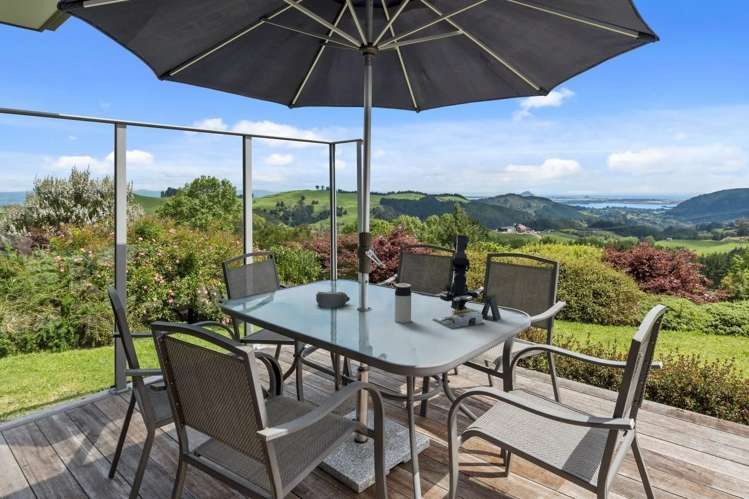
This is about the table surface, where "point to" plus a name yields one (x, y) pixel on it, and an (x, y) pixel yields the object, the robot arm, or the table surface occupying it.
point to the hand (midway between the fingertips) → (458, 312)
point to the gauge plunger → (458, 313)
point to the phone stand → (494, 308)
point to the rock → (331, 299)
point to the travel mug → (403, 303)
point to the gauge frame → (461, 320)
